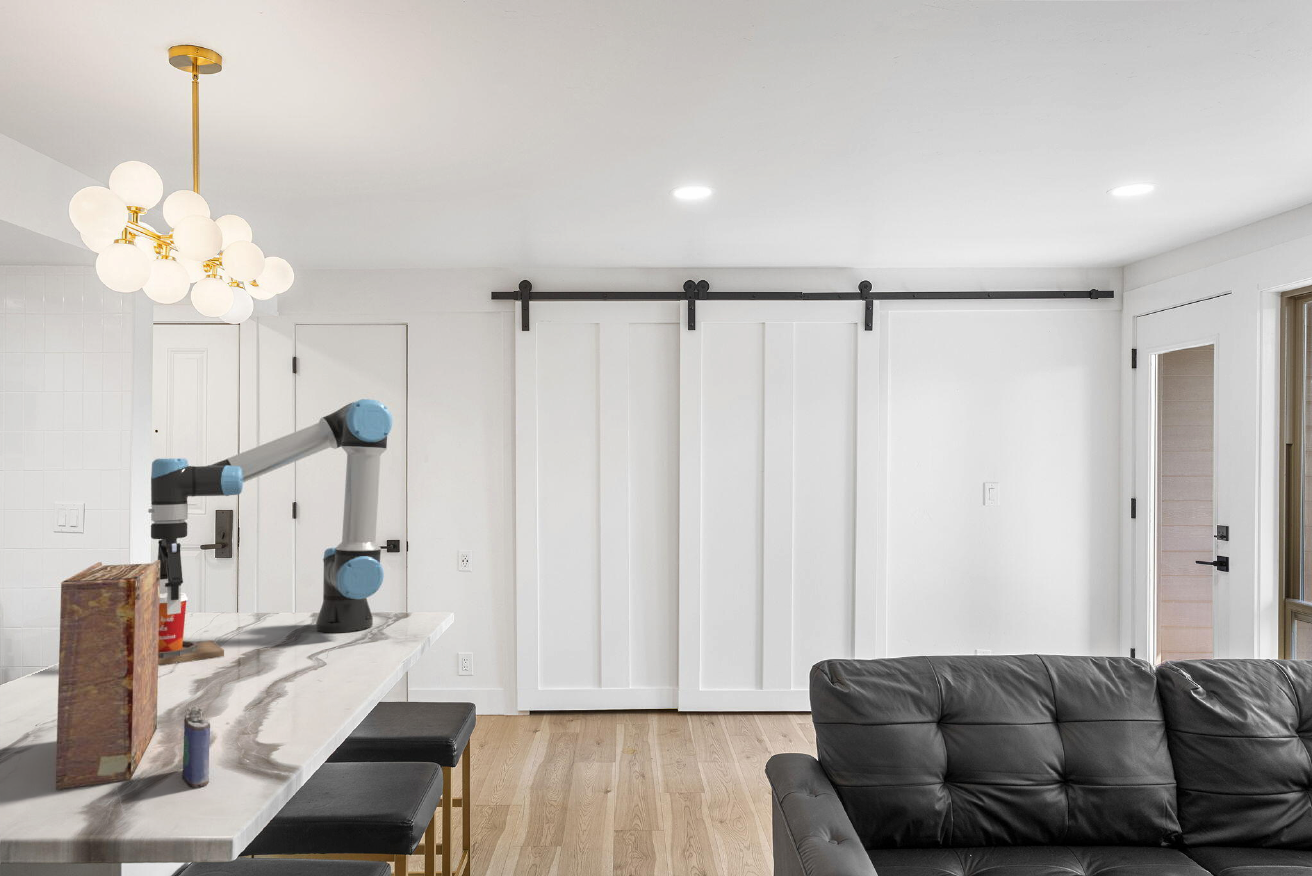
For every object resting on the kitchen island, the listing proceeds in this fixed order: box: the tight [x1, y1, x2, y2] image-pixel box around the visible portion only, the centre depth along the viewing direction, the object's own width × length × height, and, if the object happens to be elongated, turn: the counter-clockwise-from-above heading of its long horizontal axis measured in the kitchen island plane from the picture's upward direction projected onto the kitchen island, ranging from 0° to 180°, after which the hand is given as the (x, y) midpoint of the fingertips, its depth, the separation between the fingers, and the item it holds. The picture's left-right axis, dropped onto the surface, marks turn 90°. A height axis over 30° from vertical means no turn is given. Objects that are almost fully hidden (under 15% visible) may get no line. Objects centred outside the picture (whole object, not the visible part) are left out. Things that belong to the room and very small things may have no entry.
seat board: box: [158, 639, 225, 666], centre depth 188 cm, size 22×14×3 cm, turn 131°
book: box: [55, 559, 160, 791], centre depth 126 cm, size 25×9×30 cm, turn 25°
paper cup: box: [158, 592, 189, 652], centre depth 187 cm, size 8×8×14 cm
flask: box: [181, 705, 211, 789], centre depth 117 cm, size 9×3×11 cm, turn 39°
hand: (168, 609), depth 188 cm, fingers open, 13 cm apart
